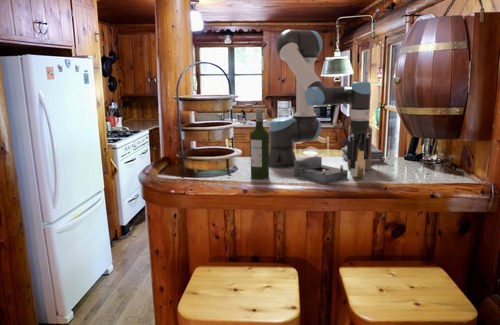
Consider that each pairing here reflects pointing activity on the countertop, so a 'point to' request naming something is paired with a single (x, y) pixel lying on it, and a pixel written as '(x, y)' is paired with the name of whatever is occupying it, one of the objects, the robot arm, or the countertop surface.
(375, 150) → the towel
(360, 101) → the robot arm
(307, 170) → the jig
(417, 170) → the countertop surface
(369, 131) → the wooden block
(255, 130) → the wine bottle
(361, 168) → the brass cylinder
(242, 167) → the countertop surface
